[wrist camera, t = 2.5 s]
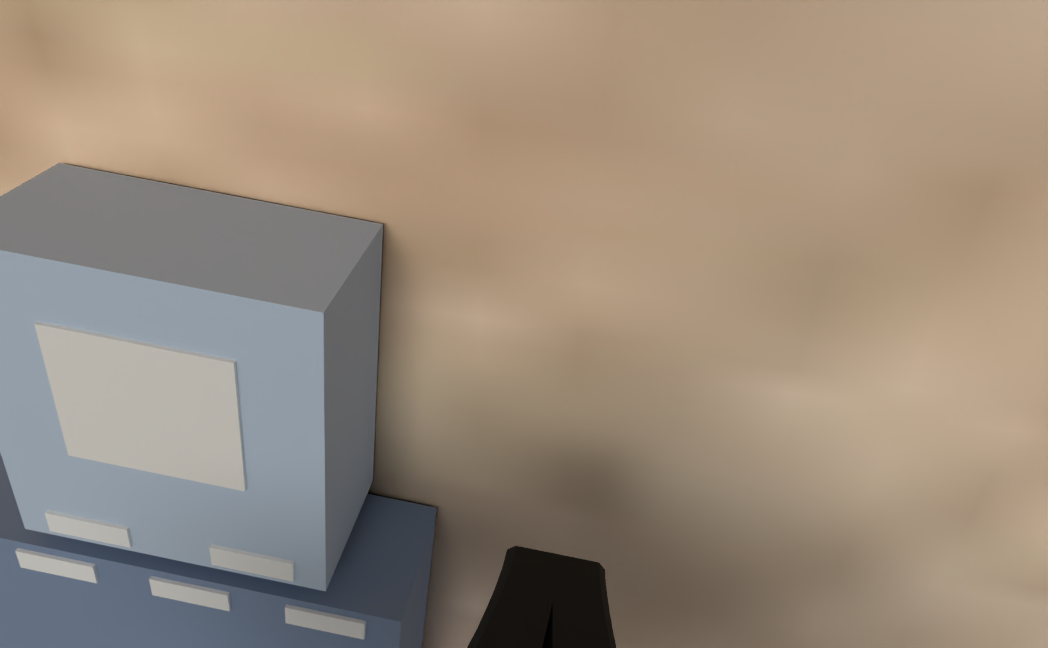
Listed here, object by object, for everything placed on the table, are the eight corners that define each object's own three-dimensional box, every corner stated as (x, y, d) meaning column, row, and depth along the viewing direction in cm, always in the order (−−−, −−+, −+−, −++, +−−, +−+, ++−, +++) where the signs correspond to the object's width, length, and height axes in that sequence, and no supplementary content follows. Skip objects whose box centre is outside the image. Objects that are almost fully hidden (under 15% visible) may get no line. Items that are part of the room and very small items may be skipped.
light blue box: (383, 224, 14) (321, 316, 11) (372, 480, 17) (324, 595, 15) (58, 163, 14) (-75, 239, 11) (114, 428, 17) (22, 532, 15)
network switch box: (437, 507, 17) (380, 689, 14) (416, 693, 22) (369, 871, 18) (-151, 388, 18) (-357, 532, 14) (-61, 592, 22) (-202, 744, 18)
